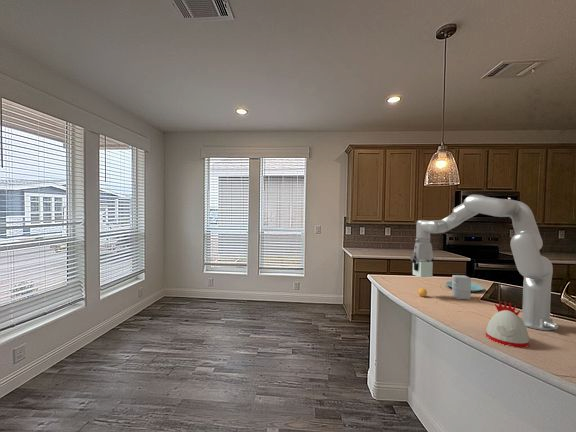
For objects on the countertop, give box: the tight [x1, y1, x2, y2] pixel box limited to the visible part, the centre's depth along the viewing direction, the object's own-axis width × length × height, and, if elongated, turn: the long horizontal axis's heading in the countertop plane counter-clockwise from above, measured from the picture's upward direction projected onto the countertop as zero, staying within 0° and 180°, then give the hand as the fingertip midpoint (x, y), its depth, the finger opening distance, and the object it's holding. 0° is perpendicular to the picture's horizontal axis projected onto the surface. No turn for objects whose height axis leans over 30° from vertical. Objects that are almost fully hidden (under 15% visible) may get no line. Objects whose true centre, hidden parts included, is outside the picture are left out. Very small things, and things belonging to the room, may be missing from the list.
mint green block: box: [412, 260, 434, 278], centre depth 175 cm, size 8×8×9 cm
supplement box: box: [451, 274, 472, 300], centre depth 174 cm, size 7×7×13 cm
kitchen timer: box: [485, 301, 530, 348], centre depth 117 cm, size 14×14×15 cm
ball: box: [417, 287, 428, 298], centre depth 175 cm, size 5×5×5 cm
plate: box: [444, 280, 485, 293], centre depth 194 cm, size 22×22×3 cm
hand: (422, 269), depth 175 cm, fingers closed on mint green block, 7 cm apart
